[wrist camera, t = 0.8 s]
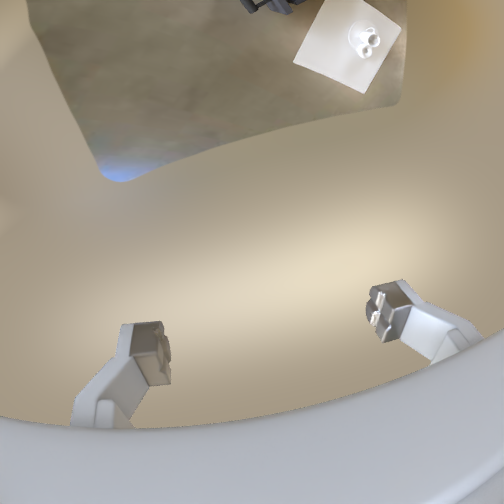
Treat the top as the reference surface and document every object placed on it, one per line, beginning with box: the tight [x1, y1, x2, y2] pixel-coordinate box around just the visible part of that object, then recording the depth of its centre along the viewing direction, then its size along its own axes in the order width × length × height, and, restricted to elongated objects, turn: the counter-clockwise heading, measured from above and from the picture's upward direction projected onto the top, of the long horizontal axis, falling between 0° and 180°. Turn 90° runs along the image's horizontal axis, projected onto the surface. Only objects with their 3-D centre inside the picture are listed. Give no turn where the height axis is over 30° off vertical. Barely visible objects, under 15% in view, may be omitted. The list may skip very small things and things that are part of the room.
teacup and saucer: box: [347, 19, 381, 60], centre depth 46 cm, size 9×8×4 cm
